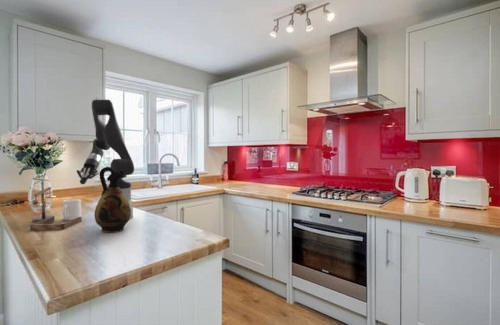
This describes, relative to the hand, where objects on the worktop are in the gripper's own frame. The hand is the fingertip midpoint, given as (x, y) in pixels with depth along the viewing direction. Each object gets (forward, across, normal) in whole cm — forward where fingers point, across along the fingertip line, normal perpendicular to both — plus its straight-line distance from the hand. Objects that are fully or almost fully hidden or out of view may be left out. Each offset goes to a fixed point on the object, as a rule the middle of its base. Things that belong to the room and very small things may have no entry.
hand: (82, 183), depth 155 cm
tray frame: (+30, +1, -4) cm, 30 cm away
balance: (+22, -14, +5) cm, 26 cm away
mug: (+22, 0, +5) cm, 22 cm away
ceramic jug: (+36, +32, -10) cm, 50 cm away
